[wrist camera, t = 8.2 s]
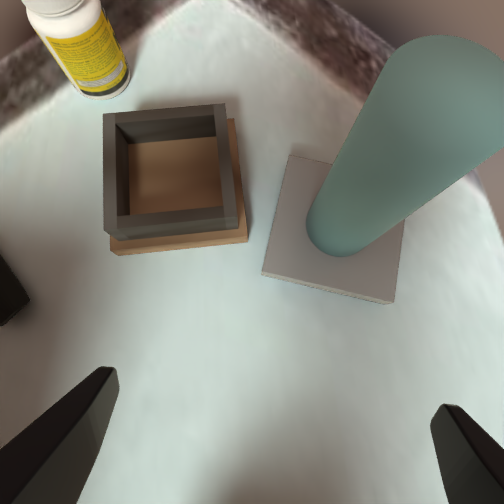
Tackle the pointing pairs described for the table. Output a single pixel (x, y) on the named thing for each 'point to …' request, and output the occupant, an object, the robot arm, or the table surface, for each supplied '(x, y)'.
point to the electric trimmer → (10, 294)
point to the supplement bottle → (81, 44)
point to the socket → (171, 180)
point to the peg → (410, 140)
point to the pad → (314, 260)
